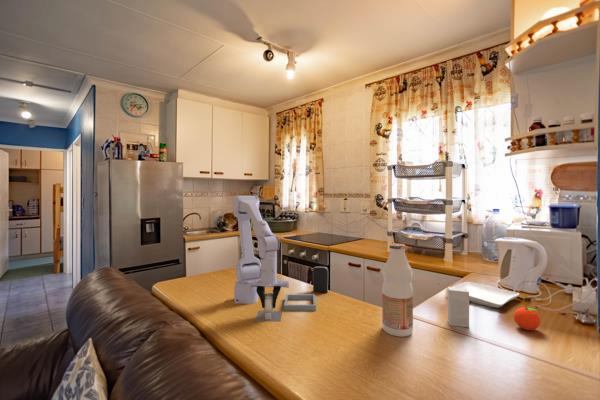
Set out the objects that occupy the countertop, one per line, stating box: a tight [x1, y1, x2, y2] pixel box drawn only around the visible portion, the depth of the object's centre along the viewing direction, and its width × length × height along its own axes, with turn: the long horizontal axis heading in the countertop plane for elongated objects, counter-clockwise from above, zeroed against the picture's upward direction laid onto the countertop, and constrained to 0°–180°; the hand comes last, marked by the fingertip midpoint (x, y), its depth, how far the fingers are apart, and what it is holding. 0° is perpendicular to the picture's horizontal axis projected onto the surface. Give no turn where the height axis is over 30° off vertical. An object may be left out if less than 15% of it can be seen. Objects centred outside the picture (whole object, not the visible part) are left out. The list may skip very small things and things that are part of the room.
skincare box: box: [446, 286, 470, 328], centre depth 99 cm, size 6×4×12 cm
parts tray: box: [283, 293, 317, 312], centre depth 116 cm, size 12×12×3 cm
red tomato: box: [513, 306, 543, 331], centre depth 95 cm, size 8×7×7 cm
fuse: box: [263, 292, 275, 314], centre depth 105 cm, size 3×3×6 cm
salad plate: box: [445, 281, 520, 309], centre depth 124 cm, size 21×21×3 cm
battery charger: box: [312, 265, 329, 294], centre depth 133 cm, size 7×4×11 cm, turn 79°
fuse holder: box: [254, 310, 283, 322], centre depth 105 cm, size 9×9×3 cm
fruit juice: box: [381, 243, 414, 337], centre depth 95 cm, size 9×9×28 cm
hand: (268, 307), depth 105 cm, fingers closed on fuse, 3 cm apart
